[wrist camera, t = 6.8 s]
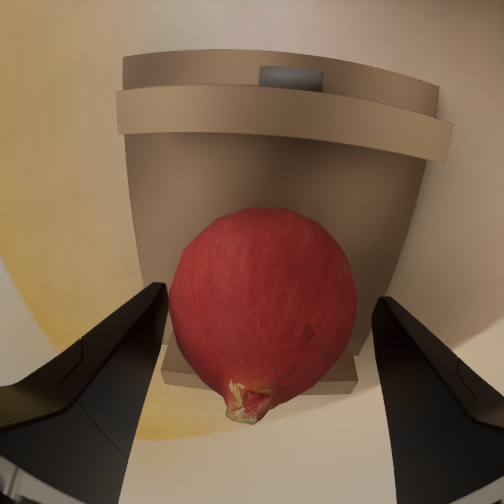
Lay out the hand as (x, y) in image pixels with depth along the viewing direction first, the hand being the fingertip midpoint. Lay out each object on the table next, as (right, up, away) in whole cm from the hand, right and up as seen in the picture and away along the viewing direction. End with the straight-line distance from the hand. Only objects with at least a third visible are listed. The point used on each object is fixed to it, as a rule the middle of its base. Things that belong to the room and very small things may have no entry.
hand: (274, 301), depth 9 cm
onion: (0, +2, +3) cm, 4 cm away
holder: (0, +3, +4) cm, 5 cm away
